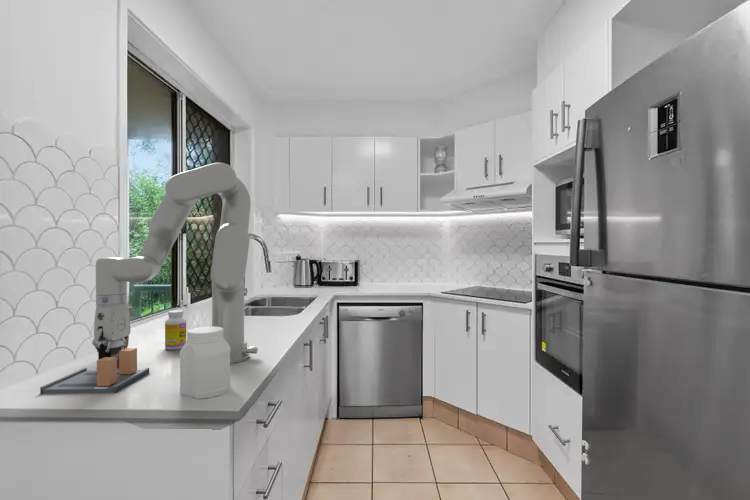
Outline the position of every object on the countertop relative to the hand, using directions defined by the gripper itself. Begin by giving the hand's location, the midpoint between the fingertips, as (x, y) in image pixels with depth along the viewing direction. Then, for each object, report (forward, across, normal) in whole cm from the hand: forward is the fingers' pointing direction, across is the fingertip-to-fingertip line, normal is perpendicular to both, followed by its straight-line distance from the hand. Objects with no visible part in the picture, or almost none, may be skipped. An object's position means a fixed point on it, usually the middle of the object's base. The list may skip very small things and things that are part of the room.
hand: (112, 361), depth 117 cm
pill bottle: (+2, 0, 0) cm, 2 cm away
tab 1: (+1, -16, -9) cm, 19 cm away
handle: (+2, +18, +8) cm, 20 cm away
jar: (+2, -18, -34) cm, 39 cm away
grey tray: (+2, -12, -4) cm, 13 cm away
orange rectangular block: (+1, -7, -9) cm, 12 cm away
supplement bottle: (+2, +24, -7) cm, 25 cm away
